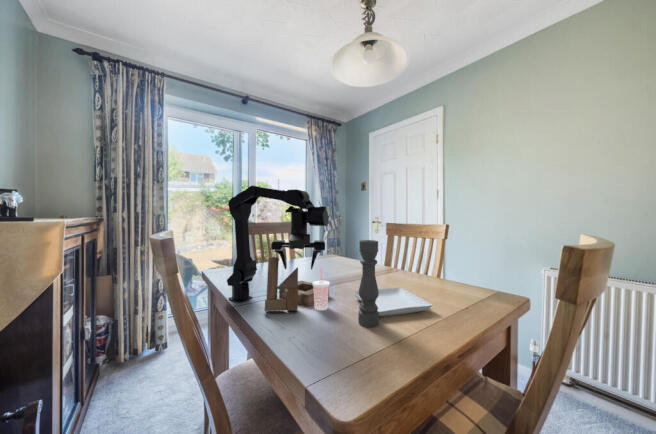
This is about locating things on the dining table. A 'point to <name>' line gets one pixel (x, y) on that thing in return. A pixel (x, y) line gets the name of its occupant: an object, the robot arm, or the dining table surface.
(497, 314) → the dining table surface
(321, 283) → the beverage cup
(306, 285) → the holder block
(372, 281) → the candle holder
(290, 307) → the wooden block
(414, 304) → the salad plate
